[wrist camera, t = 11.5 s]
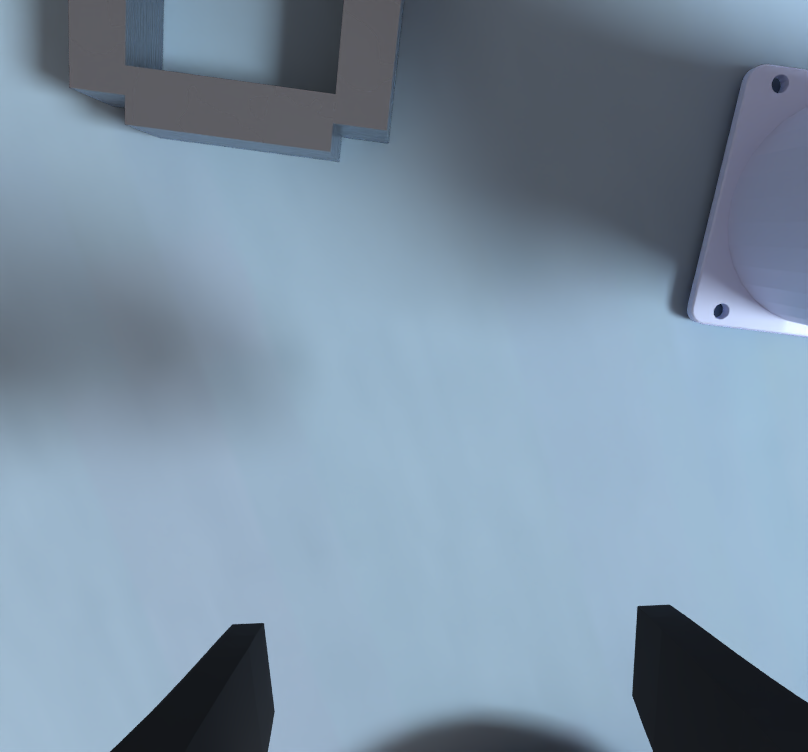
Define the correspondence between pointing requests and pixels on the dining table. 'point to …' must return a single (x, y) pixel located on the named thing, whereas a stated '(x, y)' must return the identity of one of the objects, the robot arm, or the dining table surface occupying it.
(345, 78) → the socket collar
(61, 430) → the dining table surface
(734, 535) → the dining table surface
